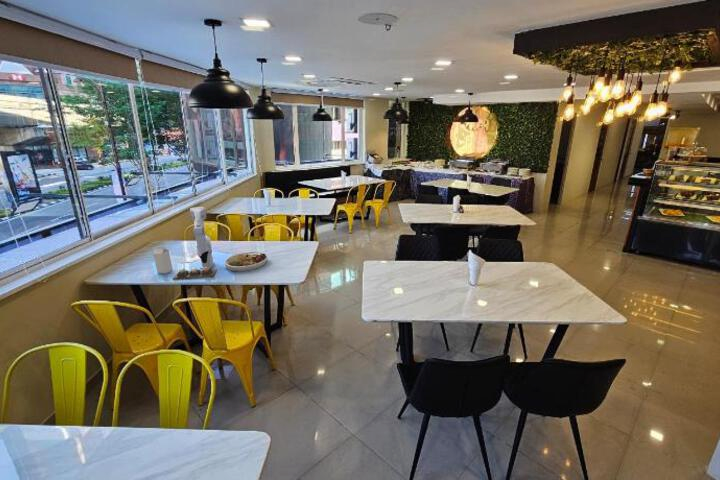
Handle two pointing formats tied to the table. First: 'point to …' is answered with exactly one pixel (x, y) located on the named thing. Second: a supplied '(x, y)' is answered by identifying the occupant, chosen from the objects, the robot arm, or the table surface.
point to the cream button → (194, 270)
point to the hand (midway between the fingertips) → (204, 262)
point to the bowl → (246, 261)
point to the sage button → (182, 270)
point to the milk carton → (162, 260)
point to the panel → (195, 274)
